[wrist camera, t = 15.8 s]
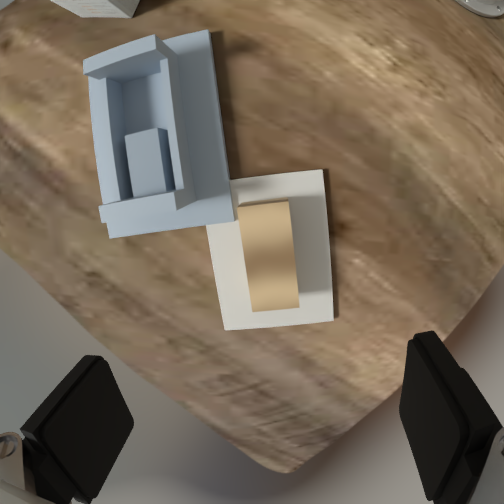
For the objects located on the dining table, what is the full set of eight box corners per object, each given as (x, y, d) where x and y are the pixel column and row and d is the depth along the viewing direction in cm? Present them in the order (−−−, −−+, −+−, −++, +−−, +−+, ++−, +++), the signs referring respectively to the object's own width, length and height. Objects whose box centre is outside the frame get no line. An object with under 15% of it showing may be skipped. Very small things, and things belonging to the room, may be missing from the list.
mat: (321, 169, 31) (322, 169, 30) (332, 318, 35) (333, 320, 34) (201, 184, 32) (199, 184, 31) (225, 327, 36) (224, 330, 36)
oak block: (241, 202, 32) (236, 207, 28) (287, 196, 31) (288, 201, 28) (255, 297, 34) (252, 312, 31) (298, 293, 34) (299, 307, 30)
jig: (93, 68, 29) (55, 53, 22) (210, 33, 27) (191, 3, 20) (114, 236, 34) (78, 254, 27) (236, 219, 33) (223, 236, 25)
